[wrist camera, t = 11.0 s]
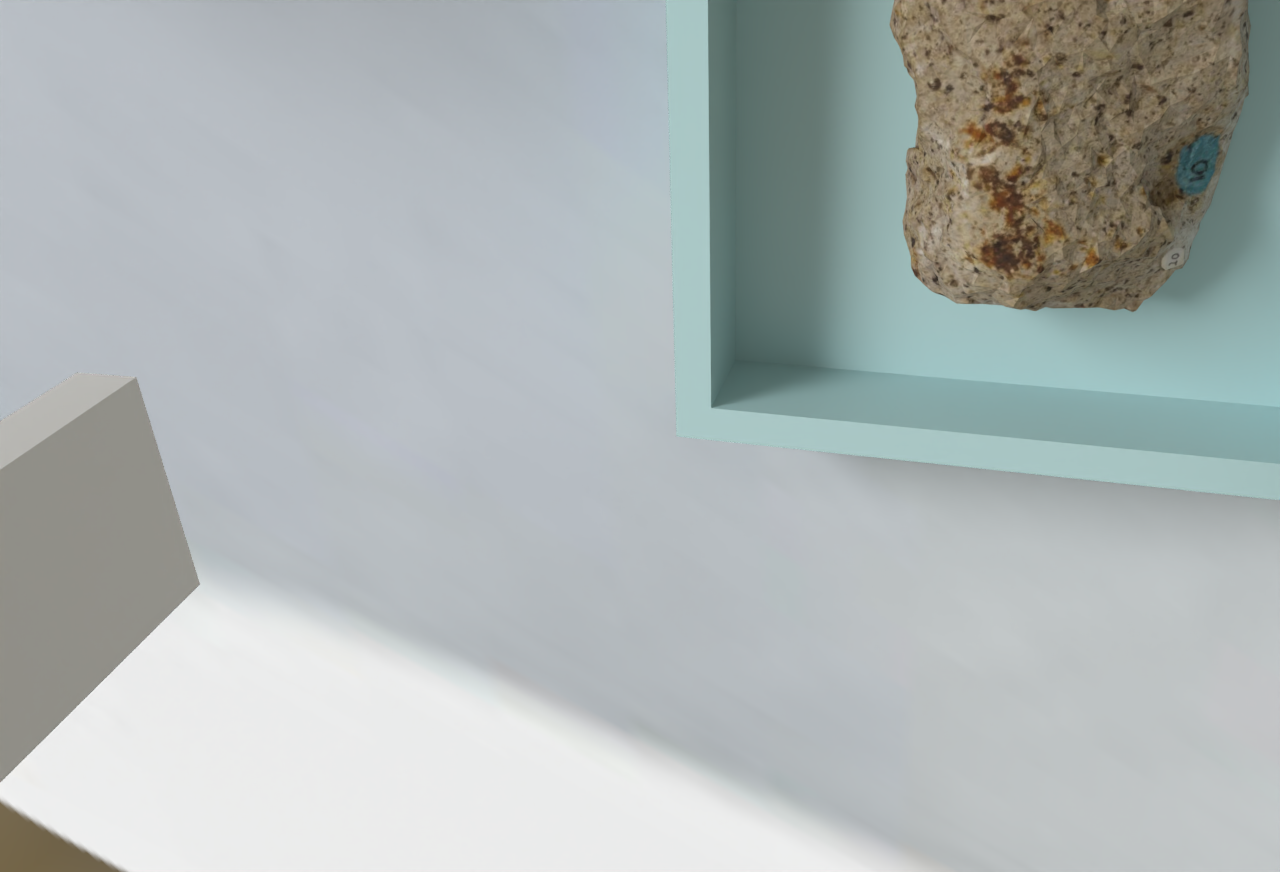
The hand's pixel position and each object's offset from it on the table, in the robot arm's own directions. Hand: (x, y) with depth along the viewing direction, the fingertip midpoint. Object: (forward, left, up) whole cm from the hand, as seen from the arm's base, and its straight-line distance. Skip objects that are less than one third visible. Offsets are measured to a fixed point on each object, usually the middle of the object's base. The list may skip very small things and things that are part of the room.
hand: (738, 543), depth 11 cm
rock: (0, +4, -21) cm, 22 cm away
